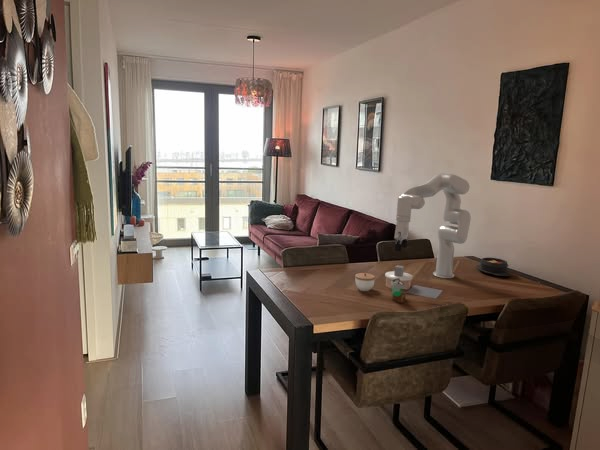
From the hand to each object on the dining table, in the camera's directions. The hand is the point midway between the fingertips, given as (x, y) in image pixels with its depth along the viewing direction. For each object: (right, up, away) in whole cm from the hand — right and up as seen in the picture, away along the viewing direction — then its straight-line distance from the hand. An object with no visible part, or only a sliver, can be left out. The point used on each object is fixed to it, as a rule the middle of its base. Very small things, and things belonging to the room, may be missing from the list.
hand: (401, 249), depth 240 cm
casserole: (+69, -18, +40) cm, 82 cm away
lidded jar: (-21, -22, -2) cm, 30 cm away
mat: (+12, -24, -4) cm, 27 cm away
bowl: (-1, -22, +4) cm, 22 cm away
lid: (-1, -16, +3) cm, 16 cm away
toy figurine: (-7, -26, -17) cm, 31 cm away
